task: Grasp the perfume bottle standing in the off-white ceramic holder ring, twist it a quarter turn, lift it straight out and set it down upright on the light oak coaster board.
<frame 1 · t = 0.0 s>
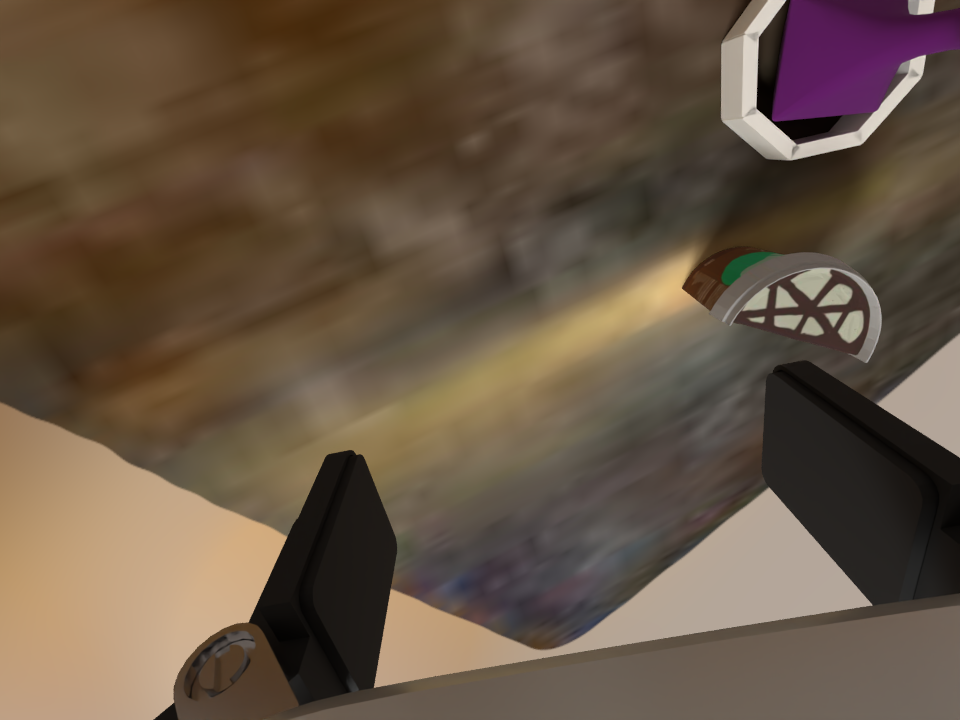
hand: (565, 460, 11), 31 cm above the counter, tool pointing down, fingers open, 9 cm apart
holder ring: (805, 62, 35), on the counter
food container: (744, 268, 41), on the counter
perfume bottle: (803, 62, 35), resting in holder ring
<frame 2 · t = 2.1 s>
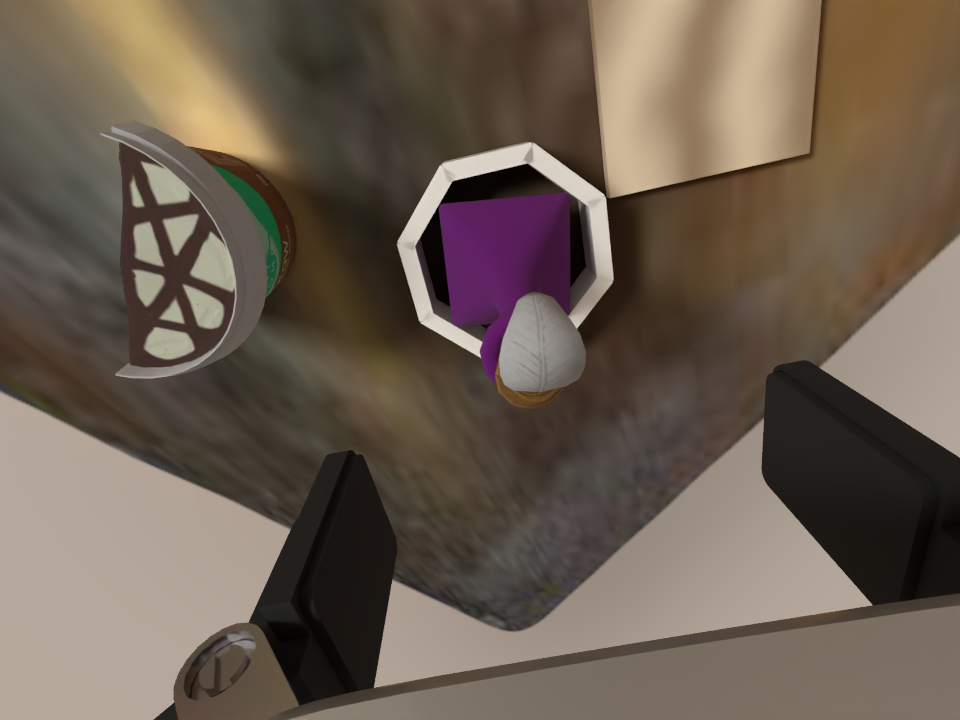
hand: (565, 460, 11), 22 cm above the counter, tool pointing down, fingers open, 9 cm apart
coaster board: (701, 64, 27), on the counter
holder ring: (504, 251, 31), on the counter
food container: (267, 241, 31), on the counter
perfume bottle: (504, 251, 31), resting in holder ring
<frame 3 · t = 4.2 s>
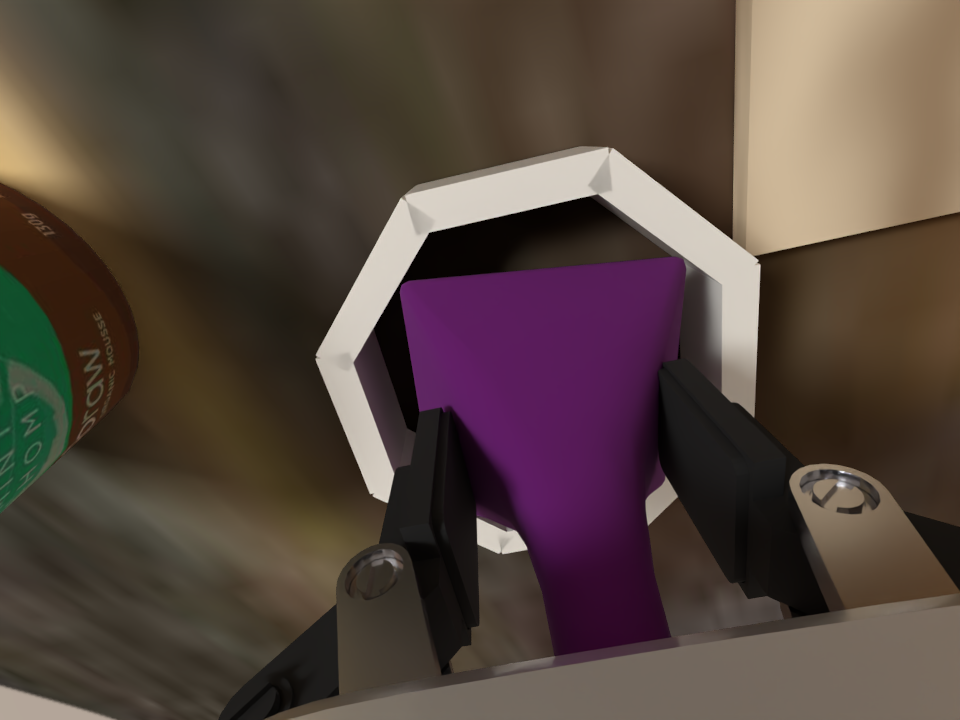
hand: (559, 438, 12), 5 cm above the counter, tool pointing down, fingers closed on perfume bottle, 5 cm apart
holder ring: (531, 350, 17), on the counter
food container: (84, 333, 16), on the counter
perfume bottle: (531, 348, 17), resting in holder ring, touching gripper
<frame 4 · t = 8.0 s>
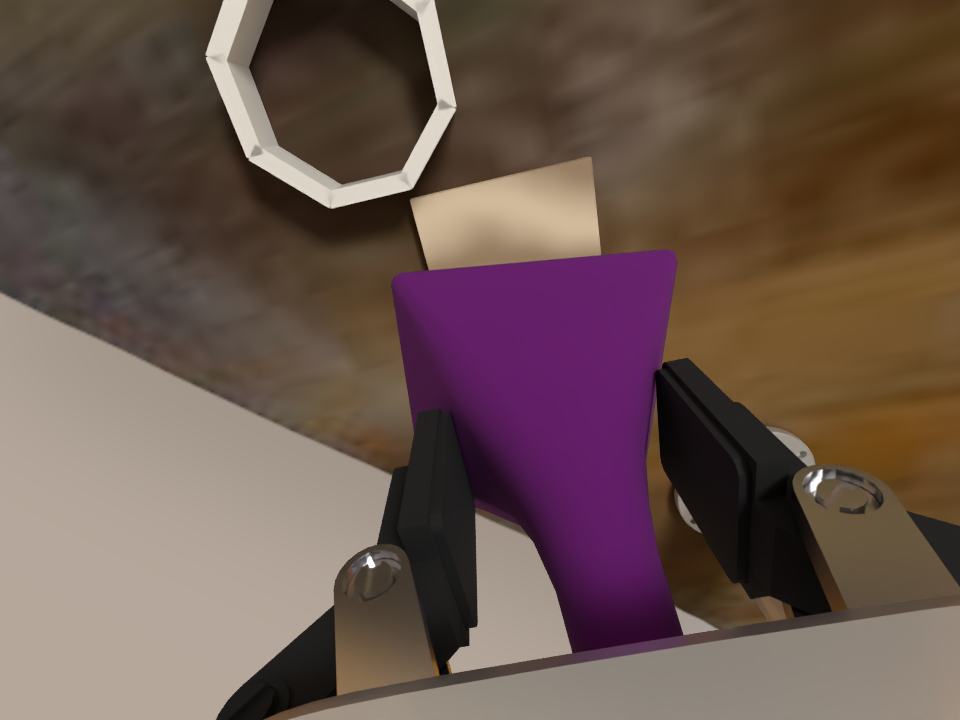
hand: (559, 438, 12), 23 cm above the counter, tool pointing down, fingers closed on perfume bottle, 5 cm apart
coaster board: (514, 264, 33), on the counter
holder ring: (346, 87, 28), on the counter
perfume bottle: (515, 334, 17), point 18 cm above the counter, touching gripper
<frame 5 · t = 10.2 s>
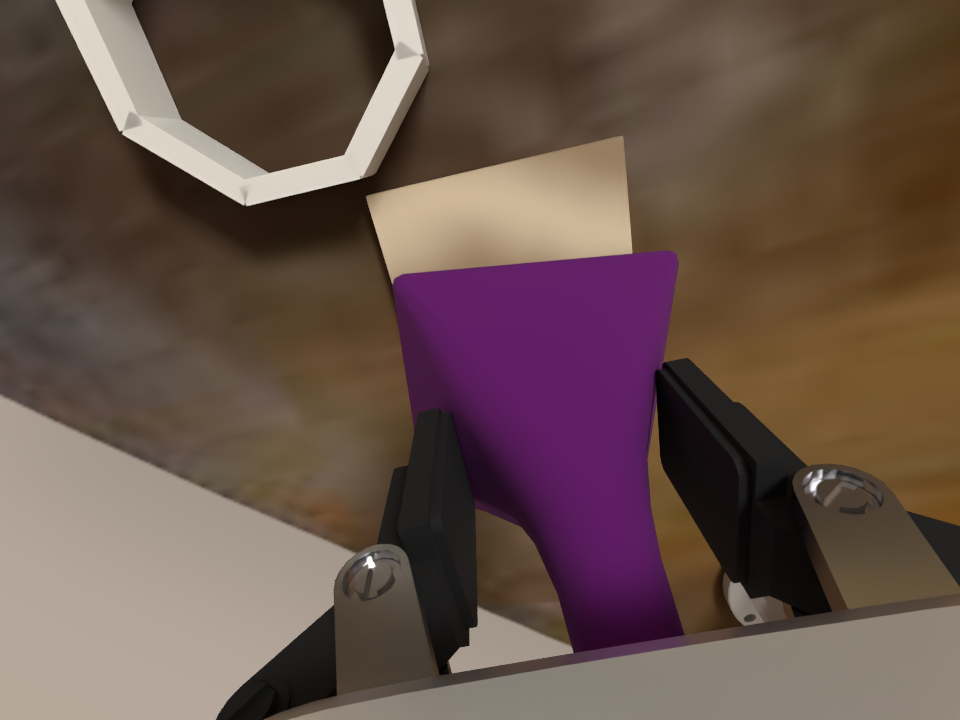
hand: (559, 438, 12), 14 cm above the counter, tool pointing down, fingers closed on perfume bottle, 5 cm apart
coaster board: (514, 287, 24), on the counter
holder ring: (272, 34, 20), on the counter
perfume bottle: (516, 335, 17), point 8 cm above the counter, touching gripper
when the fingers open (7 cm above the counter, at t = 12.0 s): perfume bottle stays where it is, resting on coaster board.
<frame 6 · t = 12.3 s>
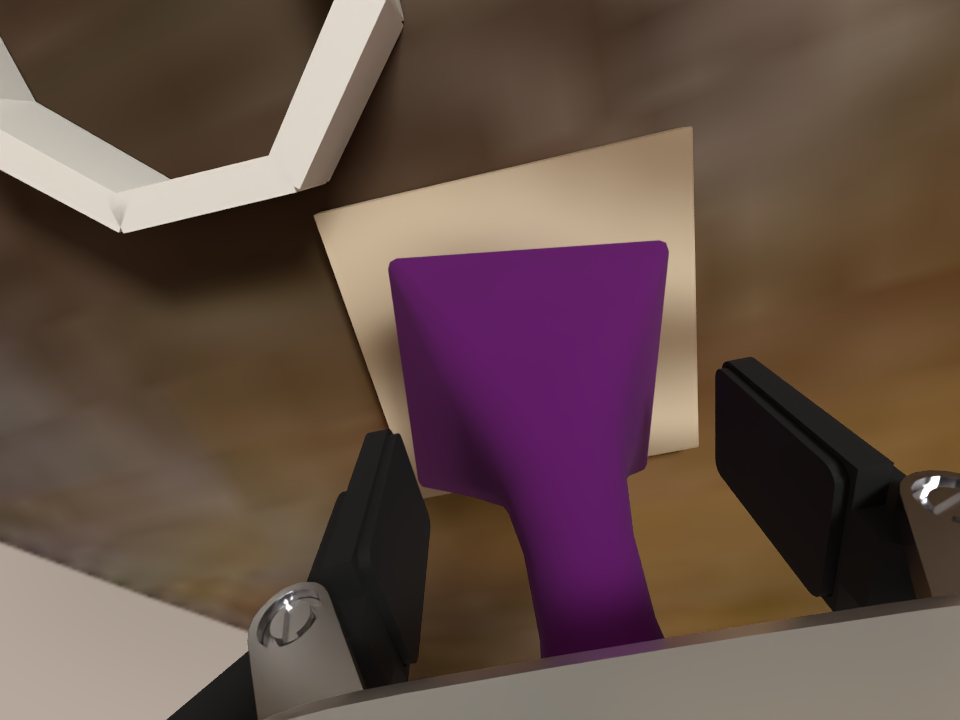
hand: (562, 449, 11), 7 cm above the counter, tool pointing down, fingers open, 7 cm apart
coaster board: (527, 337, 18), on the counter
perfume bottle: (517, 334, 17), point 1 cm above the counter, touching coaster board
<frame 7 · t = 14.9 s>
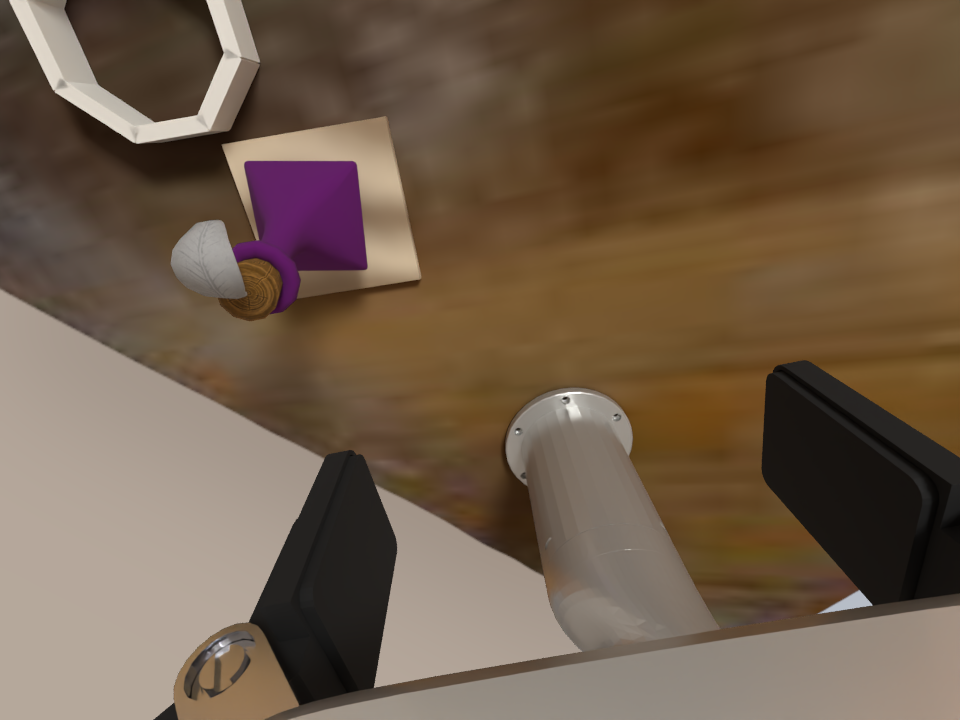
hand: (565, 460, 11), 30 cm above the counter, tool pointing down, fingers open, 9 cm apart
coaster board: (330, 214, 37), on the counter
holder ring: (156, 34, 31), on the counter
perfume bottle: (322, 210, 36), point 1 cm above the counter, touching coaster board
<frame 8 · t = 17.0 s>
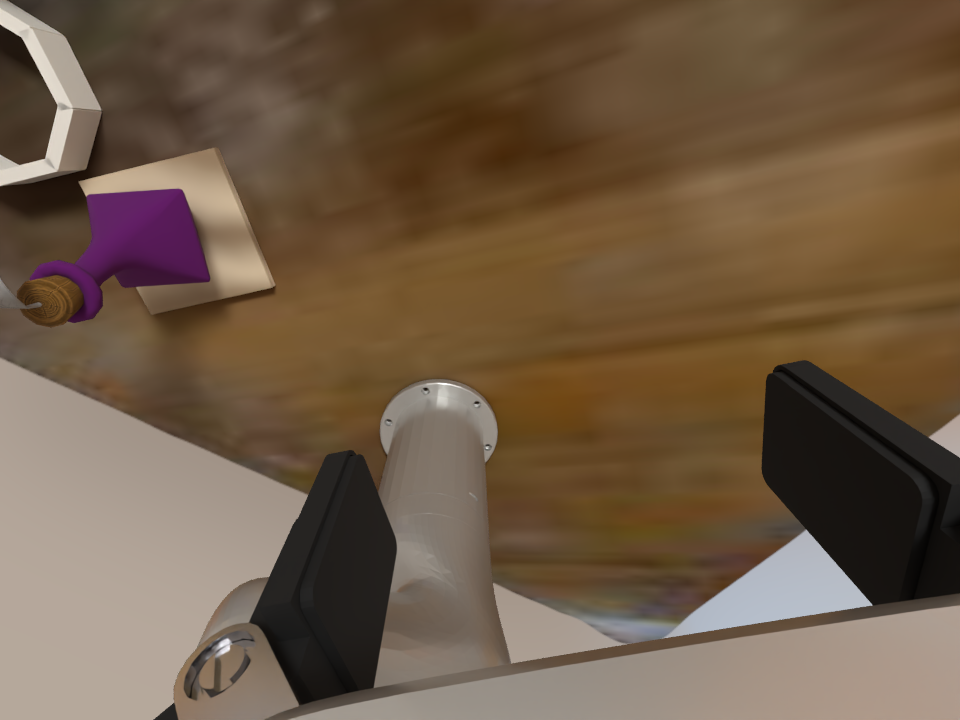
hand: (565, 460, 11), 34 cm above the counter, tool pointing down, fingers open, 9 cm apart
coaster board: (185, 235, 42), on the counter
holder ring: (11, 93, 37), on the counter
perfume bottle: (175, 232, 41), point 1 cm above the counter, touching coaster board
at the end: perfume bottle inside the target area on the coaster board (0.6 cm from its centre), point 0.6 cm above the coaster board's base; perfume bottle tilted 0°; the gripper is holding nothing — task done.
